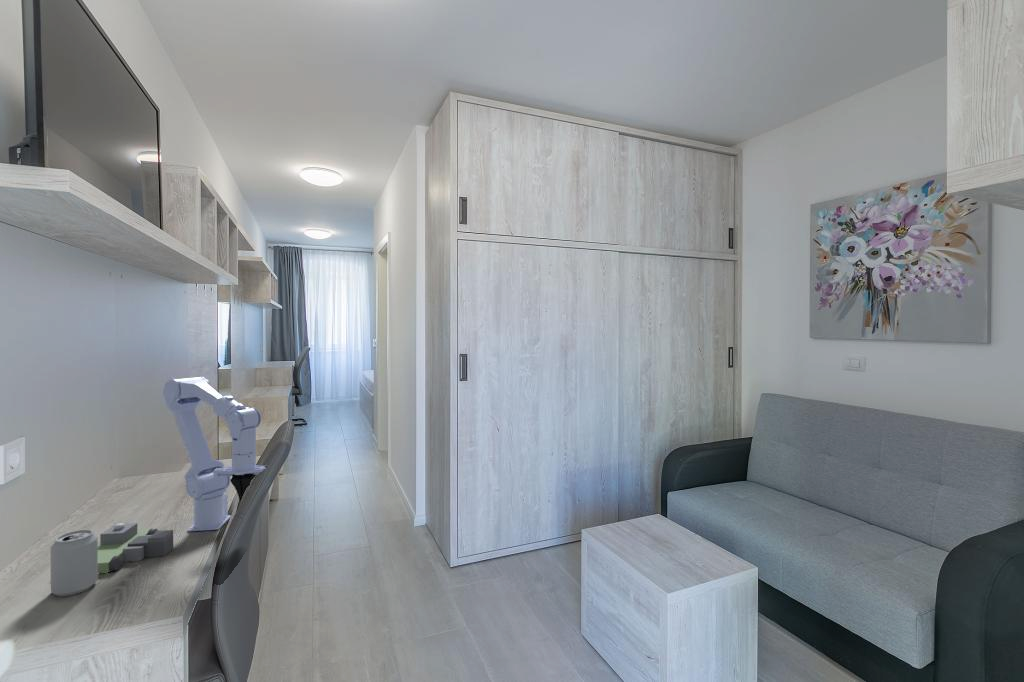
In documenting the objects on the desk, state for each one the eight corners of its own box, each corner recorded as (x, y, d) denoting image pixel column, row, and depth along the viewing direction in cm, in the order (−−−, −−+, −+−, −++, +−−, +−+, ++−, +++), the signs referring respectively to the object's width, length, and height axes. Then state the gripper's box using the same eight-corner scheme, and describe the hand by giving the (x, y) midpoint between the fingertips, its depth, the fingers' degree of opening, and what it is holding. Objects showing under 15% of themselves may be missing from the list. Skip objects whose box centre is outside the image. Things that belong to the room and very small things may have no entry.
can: (62, 582, 104) (62, 529, 104) (104, 577, 107) (103, 525, 106) (42, 601, 97) (42, 544, 97) (87, 594, 100) (87, 539, 99)
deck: (108, 541, 124) (108, 518, 124) (169, 537, 127) (169, 514, 127) (55, 577, 106) (55, 550, 106) (127, 571, 109) (127, 545, 109)
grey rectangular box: (138, 550, 119) (138, 532, 119) (173, 547, 121) (173, 529, 121) (127, 558, 115) (127, 539, 115) (164, 555, 116) (164, 537, 116)
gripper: (208, 457, 123) (208, 508, 124) (267, 455, 126) (267, 504, 127) (219, 450, 130) (219, 498, 131) (275, 448, 133) (275, 495, 133)
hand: (243, 501), depth 129 cm, fingers closed
